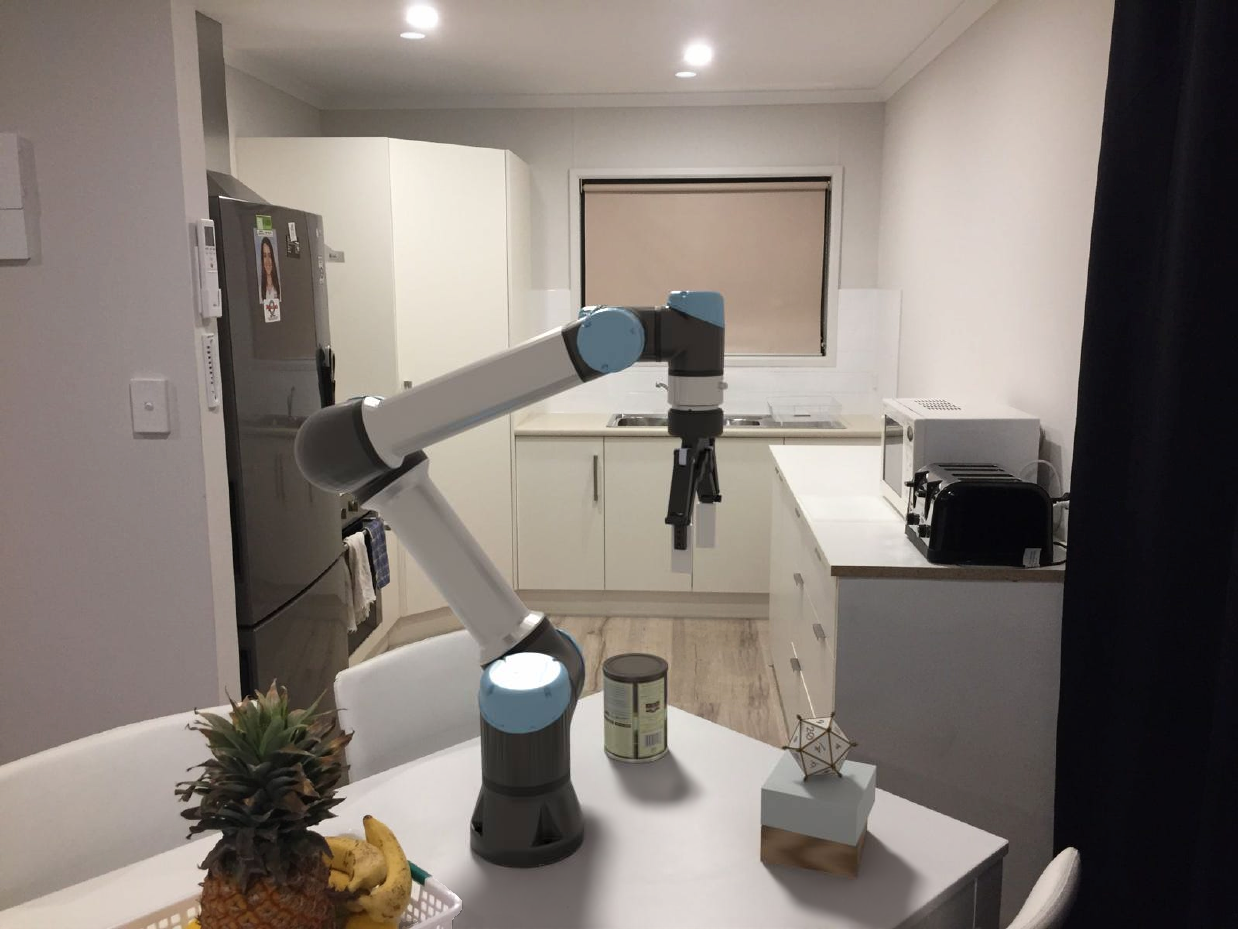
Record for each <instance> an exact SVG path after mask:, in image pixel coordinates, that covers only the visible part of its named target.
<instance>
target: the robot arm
mask: <svg viewBox="0 0 1238 929" xmlns="http://www.w3.org/2000/svg"><path fill="white" fill-rule="evenodd" d="M577 316H578V317H577V319H576V320H573V321H571V322H569V323H566V324H565V325H563V326H561V325H560V326H558V327H556V328H554V329H552V330H549V331H547V332H544V333H542V334H538V335H537V336H534V337H532V338H529V339H527V340H525V341H522V342H520V343H517V344H515V345H514V344H513V345H512V346H509V347H507V348H505V349H502V350H500V351H498V352H496V353H495V352H494V353H493V354H491V355H488V356H486V357H483V358H480V359H479V360H476V361H473V362H472V363H469V364H466V365H464V366H461V367H459V368H457V369H454V370H451V371H449V372H447V373H445V374H442V375H440V376H437V377H434V378H433V379H429V380H428V381H425V382H422V383H420V384H417V385H415V386H413V387H409V388H408V389H406V390H403V391H401V392H398V393H396V394H393V395H390V396H389V397H386V398H385V397H383V396H377V395H375V396H372V395H371V396H370V395H361V396H354V397H351V398H348V399H347V400H345V401H342V402H340V403H336V404H333V405H329V406H325V407H323V408H320V409H319V410H316V411H315V412H313V413H312V414H311V415H310V416H308V417H307V419H305V421H304V422H303V423H302V424H301V425H300V428H299V429H298V431H297V434H296V437H295V438H294V447H293V448H294V451H293V452H294V458H295V462H296V464H297V468H298V470H299V471H300V473H301V474H302V476H303V477H304V478H305V479H306V480H307V481H308V482H309V483H310V484H312V485H313V486H314V487H316V488H318V489H320V490H321V491H323V492H324V491H325V492H327V493H334V494H348V493H349V494H350V495H351V497H352V498H353V500H354V501H355V502H356V503H357V504H358V506H359V507H360V508H361V509H362V510H368V511H375V512H377V513H378V514H379V516H380V517H381V518H382V519H383V521H384V522H385V523H386V525H387V526H388V527H389V529H390V530H391V531H392V533H393V534H394V535H395V536H396V538H397V540H398V541H399V542H400V543H401V544H402V546H403V547H404V548H405V550H406V552H408V554H409V555H410V556H411V557H412V559H413V560H414V562H415V563H416V564H417V565H418V567H419V568H420V570H421V571H422V572H423V574H424V575H425V577H427V579H428V581H430V583H431V585H433V587H434V588H435V590H436V591H437V593H438V594H439V595H440V596H441V598H442V599H443V600H444V602H445V603H446V604H447V606H448V607H449V608H450V610H451V611H452V613H453V614H454V615H455V616H456V617H457V619H458V620H459V621H460V623H461V624H462V625H463V627H464V629H466V630H467V632H468V634H469V635H470V636H471V637H472V639H473V640H474V641H475V643H476V644H477V645H478V649H479V650H478V656H477V663H478V665H479V667H481V669H482V670H483V672H482V675H481V677H480V680H479V689H478V690H479V691H478V693H477V695H478V696H477V700H478V705H477V706H478V708H479V729H480V760H481V761H480V762H481V787H480V789H479V792H478V796H477V798H476V802H475V806H474V808H473V812H472V815H471V819H470V823H469V839H470V845H471V848H472V849H473V850H474V852H475V853H476V854H477V855H478V856H480V857H481V858H483V859H484V860H487V861H489V862H490V863H494V864H496V865H501V866H505V867H512V868H513V867H514V868H515V867H516V868H518V867H519V868H527V867H529V868H530V867H538V866H543V865H544V866H545V865H549V864H552V863H555V862H557V861H561V860H562V859H564V858H567V857H569V856H570V855H572V854H573V853H574V852H575V851H576V850H578V848H580V847H581V845H582V843H583V842H584V838H585V831H586V830H585V816H584V813H583V809H582V806H581V804H580V801H579V798H578V795H577V793H576V791H575V788H574V784H573V782H572V779H571V775H572V773H571V725H572V720H573V717H574V713H575V711H576V708H577V705H578V702H579V698H580V697H581V695H582V692H583V690H584V686H585V681H586V675H587V674H586V661H585V660H586V659H585V656H584V653H583V651H582V649H581V647H580V645H579V643H578V642H577V641H576V640H575V638H574V637H573V636H572V635H571V634H569V633H568V632H567V631H565V630H563V629H561V628H556V627H554V625H553V624H552V622H551V621H550V620H549V618H548V617H547V616H546V615H545V613H544V612H542V611H539V610H537V611H536V610H530V609H528V608H527V607H526V605H525V604H524V603H523V602H522V600H521V598H519V596H518V594H517V593H516V592H515V591H514V589H513V588H512V587H511V585H510V583H508V581H507V580H506V578H505V577H504V576H503V575H502V573H501V572H500V570H499V569H498V567H496V565H495V564H494V562H493V561H492V560H491V558H490V557H489V556H488V554H487V553H486V552H485V550H484V549H483V548H482V546H481V545H480V542H478V541H477V539H476V538H475V537H474V536H473V534H472V532H471V531H470V530H469V529H468V528H467V526H466V524H465V523H464V522H463V520H462V519H461V518H460V516H459V515H458V513H457V512H456V511H455V510H454V509H453V507H452V506H451V505H450V503H449V502H448V501H447V499H446V498H445V496H444V495H443V493H442V492H441V490H439V488H438V487H437V486H436V485H435V483H434V481H432V478H431V477H430V476H429V469H430V462H431V461H430V458H429V457H428V455H427V454H426V453H425V451H424V450H423V449H426V448H428V447H430V446H432V445H435V444H438V443H441V442H443V441H445V440H448V439H450V438H453V437H455V436H457V435H460V434H463V433H466V432H468V431H470V430H473V429H475V428H477V427H479V426H482V425H485V424H487V423H490V422H492V421H494V420H497V419H500V418H502V417H505V416H507V415H510V414H512V413H515V412H518V411H519V410H522V409H524V408H527V407H530V406H532V405H535V404H537V403H539V402H541V401H543V400H546V399H548V398H551V397H554V396H556V395H560V394H561V393H563V392H565V391H569V390H571V389H573V388H575V387H579V386H581V385H583V384H586V383H588V382H593V381H595V380H597V379H599V378H601V377H604V376H607V375H609V374H615V373H620V372H622V371H623V370H626V369H628V368H630V367H632V366H633V365H635V363H667V367H668V368H667V403H668V404H669V405H671V407H669V408H668V410H667V433H668V435H669V436H671V437H674V438H680V440H681V444H680V448H676V447H675V448H674V450H673V453H672V454H673V466H672V475H671V481H670V482H671V483H670V490H669V499H668V504H667V505H668V506H667V513H666V514H667V515H666V516H665V517H664V523H665V524H664V525H671V530H670V532H671V533H670V534H671V545H670V546H671V548H670V549H671V551H670V553H671V554H670V555H671V557H670V558H671V562H670V563H671V564H670V565H671V566H670V568H671V570H670V572H671V573H675V574H676V573H678V574H687V575H688V574H689V575H691V574H693V568H694V566H693V565H694V564H693V560H694V557H693V556H694V553H693V552H694V550H693V549H694V548H693V547H694V546H693V545H694V541H693V540H694V524H692V516H693V510H694V505H696V509H695V513H696V514H695V518H696V519H695V520H696V521H695V548H699V549H701V548H702V549H710V550H711V549H716V530H717V529H716V528H717V526H716V525H717V522H716V520H717V511H716V510H717V503H722V498H723V496H722V494H720V493H721V492H720V491H721V490H720V483H719V475H718V474H719V473H718V464H717V457H716V456H717V455H716V454H717V453H716V438H717V437H720V436H722V435H723V433H724V411H725V410H723V408H722V407H719V406H721V405H722V404H723V403H724V390H727V389H728V388H729V384H728V382H725V381H724V378H725V377H724V374H725V373H724V371H725V370H724V368H725V344H726V343H725V339H726V338H725V337H726V324H725V322H726V321H725V316H726V315H725V299H724V296H723V295H722V294H721V292H718V291H716V290H672V291H671V292H669V294H668V299H667V302H666V304H662V305H656V306H651V305H650V306H649V305H648V306H647V305H640V306H639V305H607V304H603V305H601V304H598V305H593V306H584V307H582V308H581V309H580V310H579V312H578V315H577ZM696 495H697V499H698V502H696V503H695V501H696V500H695V499H696Z"/></svg>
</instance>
